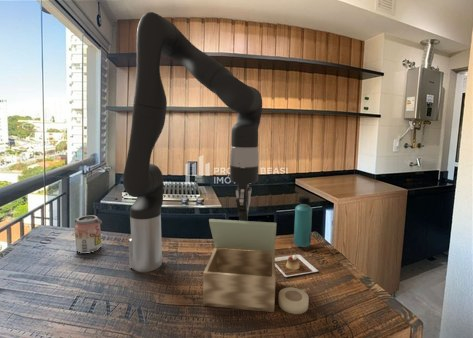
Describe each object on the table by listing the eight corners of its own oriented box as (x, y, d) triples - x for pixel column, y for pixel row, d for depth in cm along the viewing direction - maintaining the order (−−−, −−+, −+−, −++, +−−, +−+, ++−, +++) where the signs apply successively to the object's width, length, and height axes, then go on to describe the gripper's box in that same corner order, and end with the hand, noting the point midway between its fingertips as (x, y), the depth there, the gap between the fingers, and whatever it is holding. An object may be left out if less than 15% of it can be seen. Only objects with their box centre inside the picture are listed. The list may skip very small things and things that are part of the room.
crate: (203, 305, 70) (203, 272, 68) (214, 275, 83) (214, 248, 82) (274, 312, 68) (275, 278, 66) (273, 280, 81) (274, 252, 80)
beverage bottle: (311, 252, 101) (314, 199, 98) (292, 250, 102) (295, 198, 99) (309, 244, 107) (313, 195, 104) (292, 242, 108) (295, 194, 105)
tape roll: (278, 312, 68) (279, 303, 67) (278, 294, 75) (278, 285, 75) (310, 315, 67) (310, 306, 66) (306, 296, 74) (306, 288, 74)
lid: (208, 221, 72) (209, 218, 73) (214, 247, 82) (215, 245, 83) (276, 225, 70) (276, 222, 71) (274, 251, 80) (274, 249, 80)
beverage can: (83, 243, 104) (81, 213, 102) (106, 243, 105) (104, 213, 103) (71, 255, 95) (69, 222, 93) (96, 254, 96) (94, 221, 94)
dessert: (268, 261, 94) (269, 248, 93) (299, 257, 98) (299, 244, 97) (284, 280, 83) (285, 265, 82) (318, 274, 86) (319, 260, 86)
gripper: (233, 160, 79) (232, 217, 82) (226, 167, 66) (225, 234, 69) (259, 161, 78) (257, 218, 81) (257, 168, 65) (255, 236, 68)
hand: (243, 226), depth 75 cm, fingers closed
